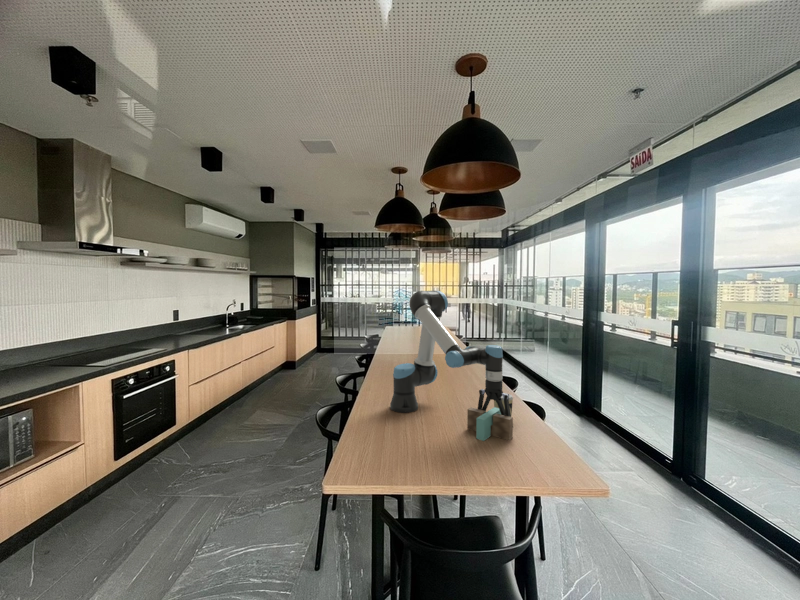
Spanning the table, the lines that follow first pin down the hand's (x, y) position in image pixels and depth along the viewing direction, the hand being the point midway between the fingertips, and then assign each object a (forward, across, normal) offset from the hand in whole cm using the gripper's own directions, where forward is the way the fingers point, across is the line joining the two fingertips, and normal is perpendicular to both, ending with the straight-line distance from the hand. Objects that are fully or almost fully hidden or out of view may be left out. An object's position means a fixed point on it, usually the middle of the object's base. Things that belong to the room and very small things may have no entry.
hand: (493, 428), depth 156 cm
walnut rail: (+1, 0, -4) cm, 5 cm away
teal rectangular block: (+1, 0, -4) cm, 5 cm away
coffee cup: (+1, -2, +16) cm, 16 cm away
